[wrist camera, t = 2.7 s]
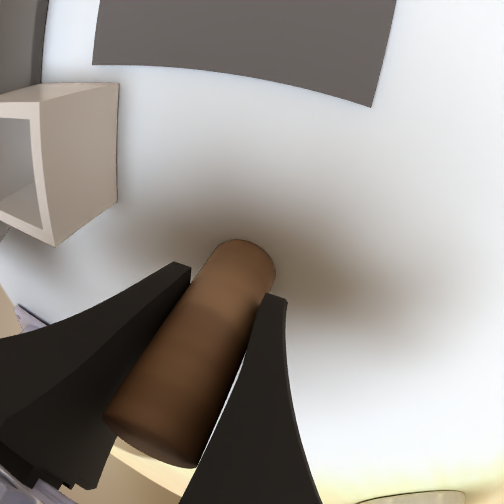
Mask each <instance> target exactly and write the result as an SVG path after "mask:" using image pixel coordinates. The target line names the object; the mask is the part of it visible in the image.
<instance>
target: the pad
mask: <svg viewBox="0 0 504 504" xmlns="http://www.w3.org/2000/svg"><path fill="white" fill-rule="evenodd" d="M395 4H396V0H100V5H99V11H98V17H97V24H96V32H95V40H94V49H93V60H92V65H145V66H163V67H177V68H188V69H198V70H206V71H214V72H222V73H229V74H235V75H241V76H247V77H253V78H258V79H264V80H269V81H274V82H279V83H283V84H288V85H292V86H296V87H301V88H305V89H309V90H313V91H317V92H320V93H324V94H328V95H331V96H335V97H338V98H342V99H345V100H348V101H352V102H355V103H358V104H361V105H364V106H367V107H370V108H371V106H372V102H373V98H374V95H375V91H376V87H377V83H378V79H379V75H380V71H381V67H382V63H383V59H384V55H385V50H386V46H387V42H388V37H389V33H390V28H391V24H392V19H393V14H394V9H395Z"/></svg>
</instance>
